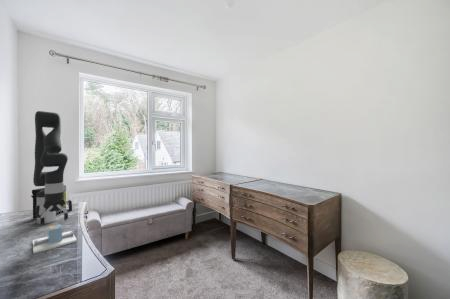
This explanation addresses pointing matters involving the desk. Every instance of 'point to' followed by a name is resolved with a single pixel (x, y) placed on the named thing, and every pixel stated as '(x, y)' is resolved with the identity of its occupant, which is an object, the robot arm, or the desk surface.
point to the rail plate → (44, 244)
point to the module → (54, 233)
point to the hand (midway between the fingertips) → (54, 222)
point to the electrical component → (36, 199)
